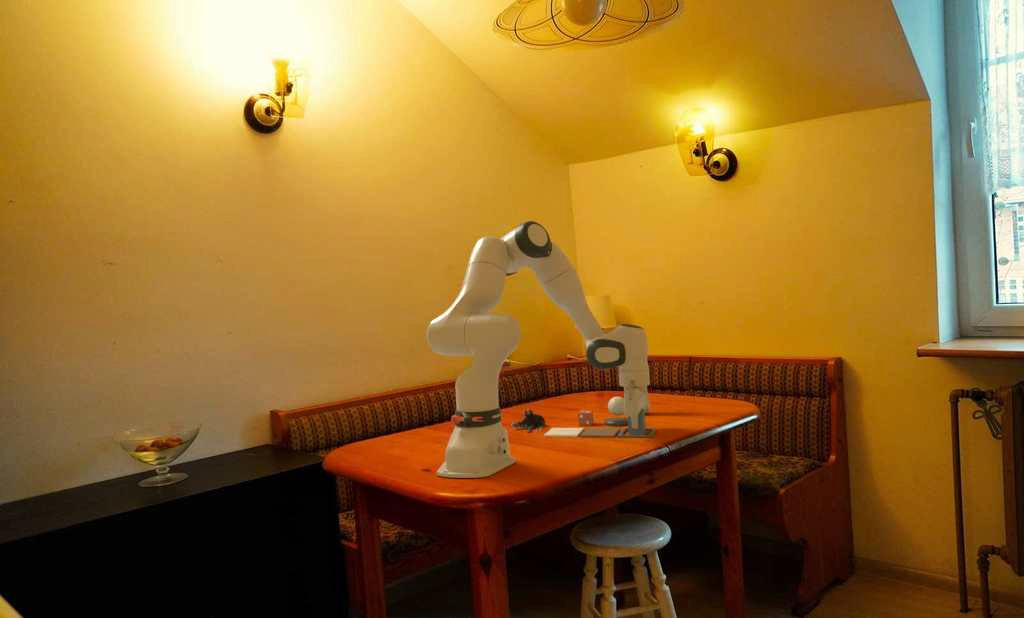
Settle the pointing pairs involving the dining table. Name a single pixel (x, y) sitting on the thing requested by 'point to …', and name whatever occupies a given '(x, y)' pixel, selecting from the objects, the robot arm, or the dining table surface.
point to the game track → (595, 432)
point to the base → (616, 421)
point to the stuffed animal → (530, 421)
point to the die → (585, 418)
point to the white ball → (616, 406)
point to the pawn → (642, 427)
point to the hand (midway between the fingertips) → (636, 425)
